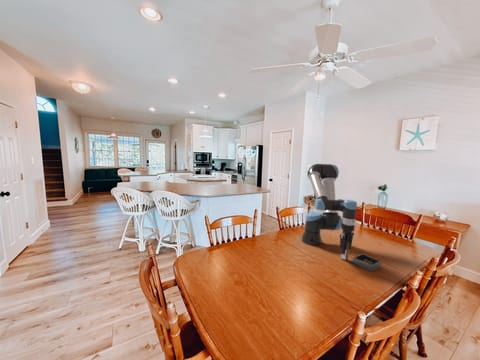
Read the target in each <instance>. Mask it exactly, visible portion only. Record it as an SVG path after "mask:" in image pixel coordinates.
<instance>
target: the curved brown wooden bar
mask: <svg viewBox="0 0 480 360" xmlns="http://www.w3.org/2000/svg"><path fill="white" fill-rule="evenodd" d="M346 250H347V252H346V259H343V258H341V257H340V259H341V260H342V261H345V262H347V261H348V259H349V253H348V250H349V251H350V249H349V243H348V242H347V246H346Z"/></svg>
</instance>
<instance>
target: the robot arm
mask: <svg viewBox="0 0 480 360" xmlns="http://www.w3.org/2000/svg"><path fill="white" fill-rule="evenodd" d="M306 174H307V178H308V180H309V181H310V184H311V186H312V190H313V193H314V196H315V200H314V208H315V209H316V211H311V212H307V213H306V215H305V223H304V224H305V225H304V232H303V234H302V236H301V242H303V243H304V244H306V245H311V246H320V245H322V242H323V241H322V240H323V239H322V235H321V230H322V231H323V230H324V231H339V230H340V229H342V234H339V238H340V239H339V241H340V242H339V248H340V249H341V255H340V259H341V258H343V259H346V252H347V250H346V246H347V242H348V243H349V250H348V254H349V252H350V250H351V249H352V245H353V239H354V235H355V232H354V231H355V227H356V226H355V224H356V219H357V218H356V217H357V209H358V203H357V201H355V200H353V199H352V200H351V199H341V198H338V199H336V188H335V182H336V180H337V178H339V174H340V172H339V167H338V166H337V165H336V164H331V163H329V164H328V163H315V164H312V165H311V166H310V167H309V168H308V170H307V173H306ZM317 210H318V211H322V213H321V212H318V211H317ZM339 212H342V216H341V215H340V214H339ZM343 259H342V260H343Z"/></svg>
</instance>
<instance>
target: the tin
mask: <svg viewBox="0 0 480 360" xmlns="http://www.w3.org/2000/svg"><path fill="white" fill-rule="evenodd" d="M352 264H354V265H356V266H358V267H360V268H363V269H365V270H366V271H369V272H371V273H372V272H374V271H376V270H378V269H379V268H381V267H382V260H379V259H377V258H374V257H371V256H370V255H367V254H364V253H361V254H358V255H356V256H354V257H352Z"/></svg>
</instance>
